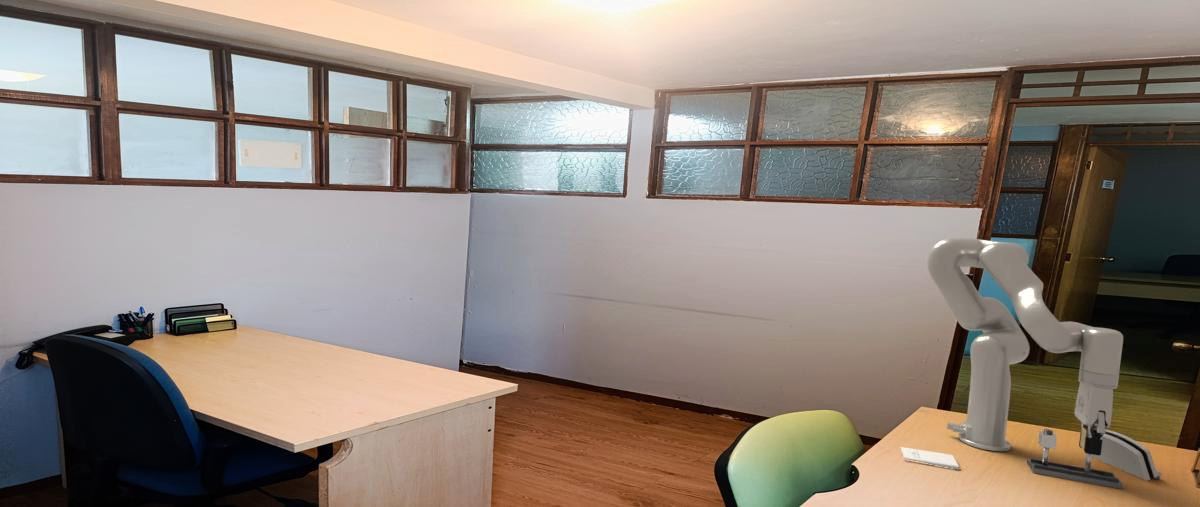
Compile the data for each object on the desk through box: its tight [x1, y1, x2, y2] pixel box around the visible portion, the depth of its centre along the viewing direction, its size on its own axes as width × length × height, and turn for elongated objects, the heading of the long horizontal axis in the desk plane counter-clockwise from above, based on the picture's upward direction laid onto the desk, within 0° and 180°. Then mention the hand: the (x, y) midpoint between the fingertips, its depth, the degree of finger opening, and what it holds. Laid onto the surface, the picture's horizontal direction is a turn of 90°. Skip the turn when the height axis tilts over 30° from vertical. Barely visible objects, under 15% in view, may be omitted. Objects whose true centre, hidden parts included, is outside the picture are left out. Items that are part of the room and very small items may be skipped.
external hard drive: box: [899, 446, 960, 471], centre depth 160 cm, size 2×8×12 cm
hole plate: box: [1026, 428, 1124, 490], centre depth 154 cm, size 18×7×10 cm, turn 66°
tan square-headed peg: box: [1079, 426, 1096, 472], centre depth 153 cm, size 3×3×11 cm
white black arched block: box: [1084, 429, 1162, 481], centre depth 162 cm, size 17×5×10 cm, turn 9°
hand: (1089, 450), depth 153 cm, fingers closed on tan square-headed peg, 3 cm apart
